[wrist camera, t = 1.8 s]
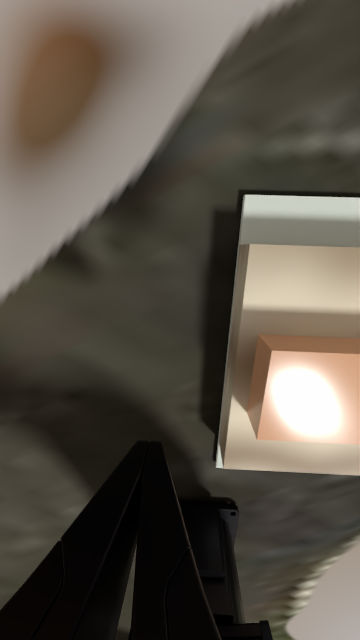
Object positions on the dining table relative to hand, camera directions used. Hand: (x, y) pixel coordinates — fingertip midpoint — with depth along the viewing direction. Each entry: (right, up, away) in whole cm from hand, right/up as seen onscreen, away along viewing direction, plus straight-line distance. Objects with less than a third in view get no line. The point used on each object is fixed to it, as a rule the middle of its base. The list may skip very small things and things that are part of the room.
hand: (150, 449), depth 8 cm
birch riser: (+9, +2, +7) cm, 11 cm away
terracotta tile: (+9, +1, +5) cm, 10 cm away
